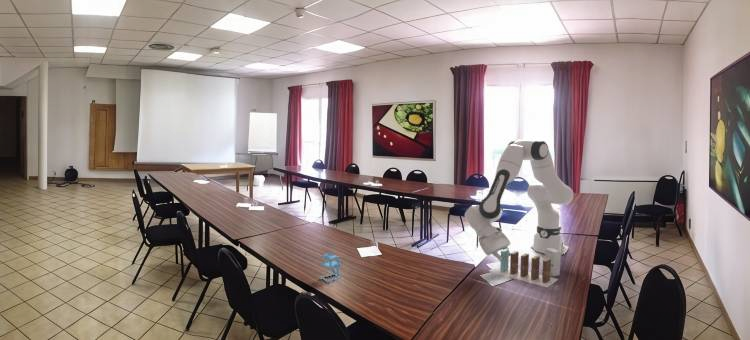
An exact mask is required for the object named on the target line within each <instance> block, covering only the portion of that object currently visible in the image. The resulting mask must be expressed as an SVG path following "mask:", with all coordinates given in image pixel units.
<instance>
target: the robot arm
mask: <svg viewBox="0 0 750 340" xmlns="http://www.w3.org/2000/svg"><path fill="white" fill-rule="evenodd" d="M524 161H530V166H531V170H532V173H533V177H534V179H535V180H536V181H538V182H533V183H531V184H529V186H527V191H526V193H527V196H528V198H529V199H530V200H531V201H532V202H533V204H534V206H535V208H536V211H537V226H536V233H535V234H534V237H533V245H531V246H530V248H531V249H532V250H534V251H535V252H537V253H540V254H544V255H545V249H547V248H553V249H556V250H558V251H561V255H563V254H564V255H566V254H567V252H568V250H569V246H568V245H565V238H564V237H563V235H561V230H562V226H560V214H559V212H558V211H557V210H556V209H554V207H553V205H554V204H555V205H569V204H570V203H572V201H573V199H574V191H573V189H572V188H571V187H570V186H568V185H567V184H565V182H563V181H562V180H561V178H560V177H559V176H558V174H557V172H556V167H555V166H554V161H553V157H552V155H551V152H550V149H549V146H548V144H547V142H546V141H544V140H541V139H530V138H528V139H527V138H526V139H514V140H511V141H510V142H509V143H508V145H507V146H506V147H505V149H504V150H503V152H502V155H501V157H500V158H499V161H498V164H497V167H496V170H495V171H496V172H495V176H494V180H493V182H492V185H491V187H490V190H489V191H488V194H487V195H486V196H485V197H484V198H483V199H482V200H481V202H480V203H479V204H473V205H470V206H469V207H468V208H467V209H466V210H465V212H464V217H465V220H466V221H467V223H468V225H469V226H470V227H471V229H473V230H474V232H475V234H476V235H477V236H478V237H477V238H478V243H479V246H480V247H481V249H482V251H483V253H484V254H485V255H486V256H490V255H493V257H495V258H497V259H498V261H499V262H501V260H502V259H503V257H502V256H501V254H499V252H501V251H502V250H504V249H509V250H510V248H509V246H510V245H511V241H510V240H509V238H508V237H507V235H506V234H505V233H504V232H503V231H502V230H503V229H502V228H501V227H497V226H493V225H492V223H494V222H496V221H498V220H500V219H501V217H502V216H503V208H502V207H501V200H502V198H503V195H504V192H505V189H506V187H507V185H508V184H509V183H511V182H514V181H515V180H516V178H517V177H518V174H520V171H521V168H522V164H523V162H524ZM511 253H512V252H510V251H509V257H511ZM565 253H566V254H565Z"/></svg>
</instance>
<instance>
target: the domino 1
mask: <svg viewBox="0 0 750 340" xmlns="http://www.w3.org/2000/svg"><path fill="white" fill-rule="evenodd" d="M509 252H510V248H509V249H504V250H503V249H502V250H500V256H502V257H503V259H502V260H501V261H500V264H499V265H500V271H502V272H504V271H506V270H508V266H509V262H510V261H509V259H510V256H509Z"/></svg>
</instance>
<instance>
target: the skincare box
mask: <svg viewBox="0 0 750 340" xmlns="http://www.w3.org/2000/svg"><path fill="white" fill-rule="evenodd" d="M547 258H549V259H551V271H550V277H554V276H560V274H561V272H560V271H561V261H562V260H561V259H562V254H561V251H558V250H556V249H553V248H547V249H545V254H544V260H545V259H547Z"/></svg>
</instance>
